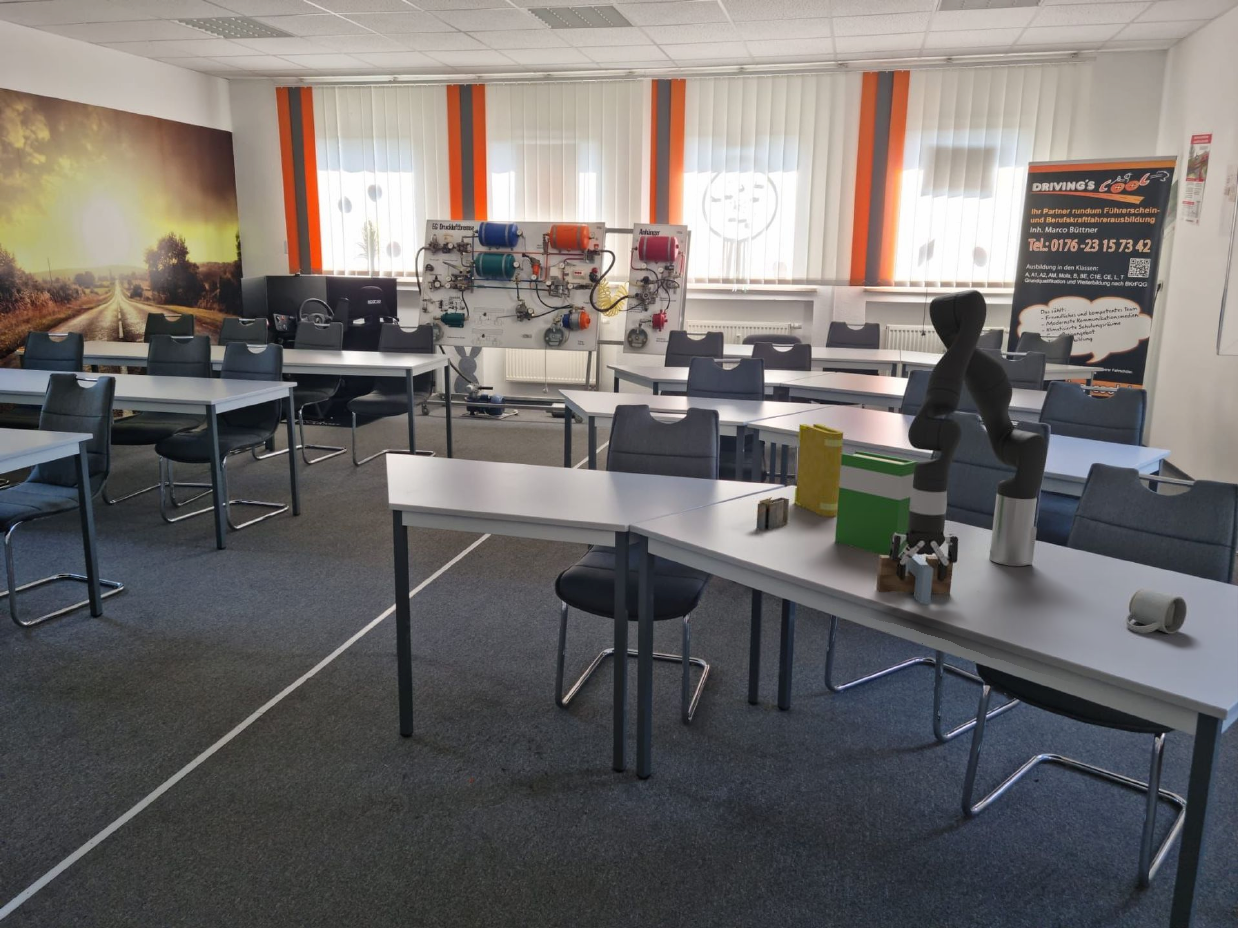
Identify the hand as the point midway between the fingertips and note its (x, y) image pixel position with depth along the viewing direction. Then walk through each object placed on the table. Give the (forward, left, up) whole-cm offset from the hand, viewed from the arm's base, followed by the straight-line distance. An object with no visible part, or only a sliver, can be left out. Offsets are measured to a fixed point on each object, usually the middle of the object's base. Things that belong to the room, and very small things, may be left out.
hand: (920, 579), depth 194 cm
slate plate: (0, -3, -4) cm, 5 cm away
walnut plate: (0, -4, -4) cm, 6 cm away
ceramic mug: (-43, +15, -4) cm, 46 cm away
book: (+6, -76, -4) cm, 76 cm away
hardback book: (0, -38, -4) cm, 38 cm away
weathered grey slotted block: (+23, -56, -5) cm, 61 cm away
